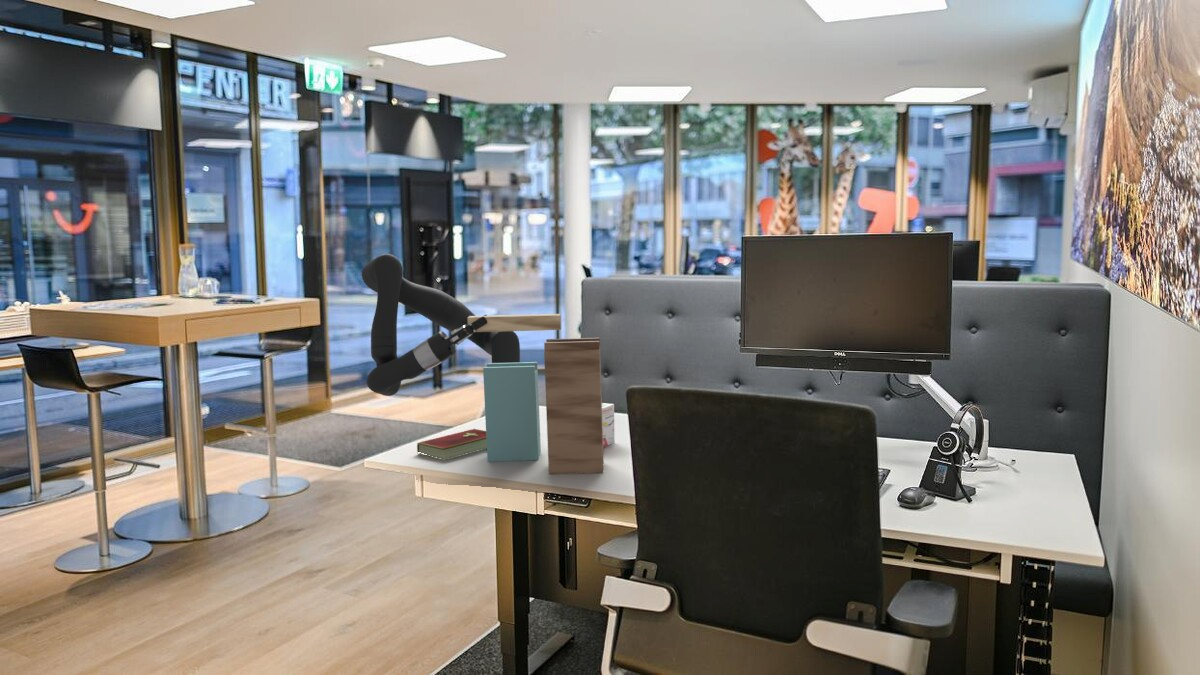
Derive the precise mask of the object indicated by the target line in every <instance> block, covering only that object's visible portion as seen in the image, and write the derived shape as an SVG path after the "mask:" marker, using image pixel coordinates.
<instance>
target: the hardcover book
mask: <svg viewBox="0 0 1200 675" xmlns="http://www.w3.org/2000/svg"><path fill="white" fill-rule="evenodd" d="M485 448H487V441H486V430H482V429H477V428H472V429H467V430H464V431H460V432H455V433H452V434H448V435H444V436H439V437H436V438H432V439H428V440H423V441H420V442H417V443H416V451H417V452H416V453H418V452H421V453H424V454H427V455H430V456H433V457H437V458H441V459H447V460H449V459H448V458H451V459H453V458H452V457H455V458H457V457H456V456H458V457H460V456H459V455H462V456H464V455H463V454H465V455H467V454H466V453H469V454H471V453H470V452H473V453H475V452H474V451H476V452H478V451H477V450H480V451H482V450H481V449H484V450H486V449H485ZM437 458H436V459H437ZM441 459H440V460H441Z"/></svg>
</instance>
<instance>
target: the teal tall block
mask: <svg viewBox="0 0 1200 675" xmlns="http://www.w3.org/2000/svg"><path fill="white" fill-rule="evenodd" d="M538 370H539V369H538V361H530V362H529V361H528V362H526V361H525V362H524V361H522V362H521V361H520V363H492V362H489V363H486V366H483V368H482V371H483V372H482V374H483V376H482V377H483V395H484V398H483V399H484V415H485V416H484V417H485V431H486V441H487V449H486V455H487V456H486V457H487V458H486V459H487V462H513V461H517V462H518V461H519V462H520V461H539V460H538V459H540V457H539V456H541V454H540V453H542V450H541V447H542V446H541V421H540V420H541V419H540V402H539V401H540V400H539V399H540V397H539V396H540V394H539V375H538V372H539V371H538Z"/></svg>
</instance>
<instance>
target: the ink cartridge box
mask: <svg viewBox="0 0 1200 675" xmlns="http://www.w3.org/2000/svg"><path fill="white" fill-rule="evenodd" d="M602 425H603V449H604V448H606V447H608V446H610V444H611V445H614V444H615V439H616V438H615V434H616V433H615V432H616V431H615V404H614V403H605V402H602Z"/></svg>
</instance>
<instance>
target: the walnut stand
mask: <svg viewBox="0 0 1200 675" xmlns="http://www.w3.org/2000/svg"><path fill="white" fill-rule="evenodd" d="M543 344H544V345H543V346H544V348H543V349H544V351H543V352H544V353H543V354H544V355H543V356H544V380H545V381H544V382H545V408H546V432H547V434H546V435H547V436H546V437H547V458H548V459H547V461H548V462H547V463H548V474H549V475H565V474H566V473H575V474H596V473H595V472H603V473H604V465H603V464H605V463H604V462H605V461H604V448H603V425H602V403H603V400H602V396H603V395H602V393H603V392H602V365H601V364H602V362H601V361H602V360H601V337H581V338H580V337H579V338H577V337H575V338H573V337H571V338H546V341H545V342H544V343H543Z"/></svg>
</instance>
